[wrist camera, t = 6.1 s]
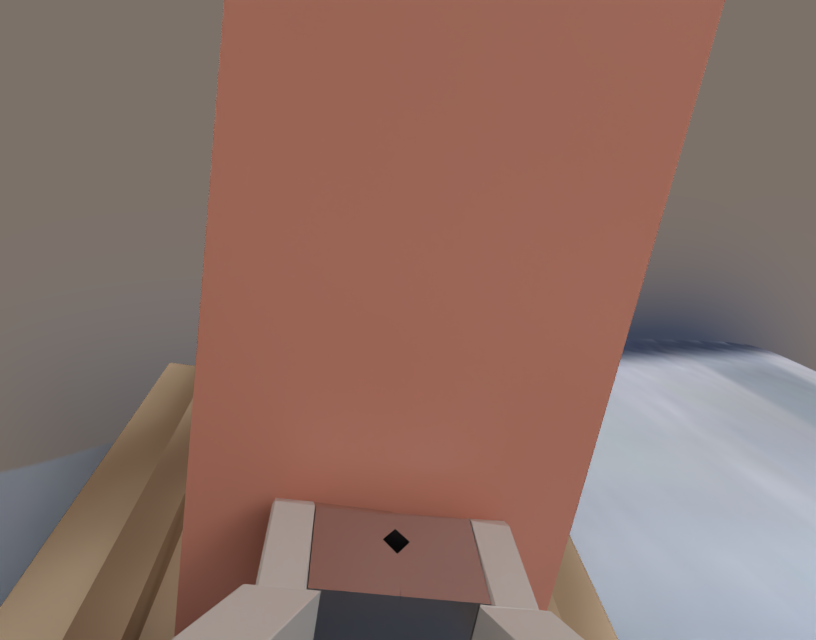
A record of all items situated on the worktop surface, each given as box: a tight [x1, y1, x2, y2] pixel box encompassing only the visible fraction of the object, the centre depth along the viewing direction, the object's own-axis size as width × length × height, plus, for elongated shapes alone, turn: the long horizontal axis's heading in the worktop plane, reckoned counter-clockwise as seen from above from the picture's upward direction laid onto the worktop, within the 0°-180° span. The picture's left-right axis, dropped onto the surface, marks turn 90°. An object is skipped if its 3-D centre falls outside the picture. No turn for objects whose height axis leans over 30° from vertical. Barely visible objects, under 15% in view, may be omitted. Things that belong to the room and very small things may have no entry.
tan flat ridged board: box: [0, 363, 618, 640], centre depth 16 cm, size 14×24×3 cm, turn 4°
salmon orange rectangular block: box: [174, 0, 725, 637], centre depth 10 cm, size 6×5×13 cm
